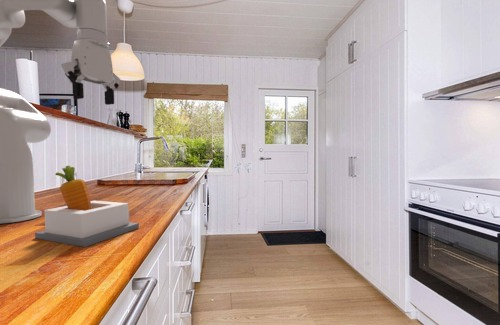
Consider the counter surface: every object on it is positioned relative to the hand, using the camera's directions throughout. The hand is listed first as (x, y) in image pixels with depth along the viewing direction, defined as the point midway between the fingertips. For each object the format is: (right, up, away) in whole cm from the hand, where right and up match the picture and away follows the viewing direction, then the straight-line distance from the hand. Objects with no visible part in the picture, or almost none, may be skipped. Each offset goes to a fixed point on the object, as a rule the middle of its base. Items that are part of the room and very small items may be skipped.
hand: (95, 101), depth 78 cm
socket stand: (+7, -34, -14) cm, 37 cm away
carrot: (+7, -33, -15) cm, 36 cm away
